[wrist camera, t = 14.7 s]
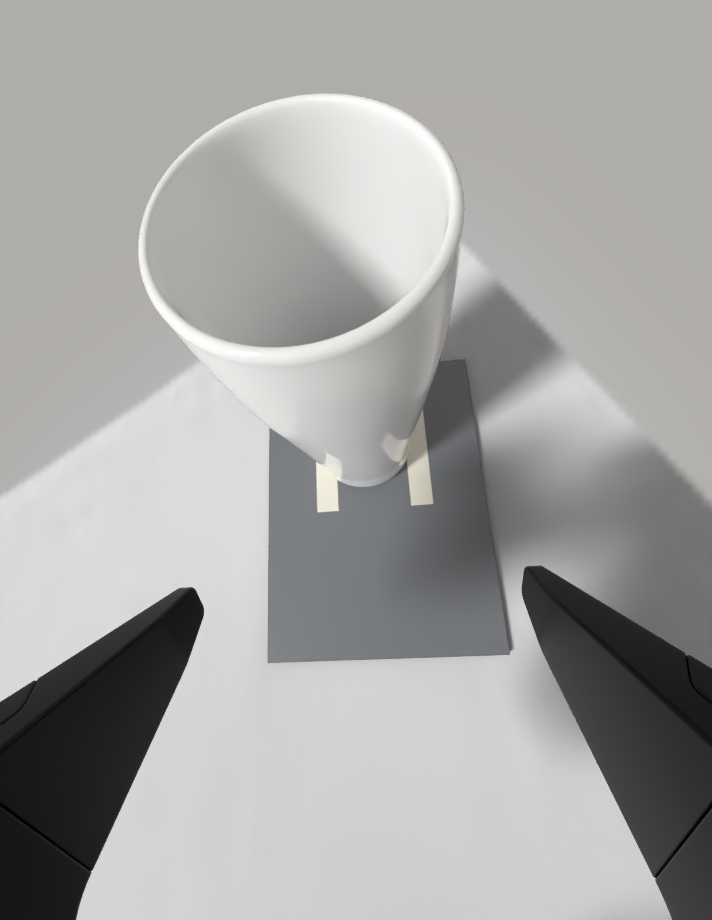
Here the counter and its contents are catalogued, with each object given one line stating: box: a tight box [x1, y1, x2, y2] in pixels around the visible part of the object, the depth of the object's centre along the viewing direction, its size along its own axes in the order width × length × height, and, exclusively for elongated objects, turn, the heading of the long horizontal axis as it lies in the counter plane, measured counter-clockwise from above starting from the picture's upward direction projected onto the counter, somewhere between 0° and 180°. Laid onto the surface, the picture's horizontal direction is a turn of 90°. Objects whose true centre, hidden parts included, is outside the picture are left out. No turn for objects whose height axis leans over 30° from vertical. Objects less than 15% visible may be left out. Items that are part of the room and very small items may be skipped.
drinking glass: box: [138, 93, 464, 487], centre depth 15 cm, size 7×7×15 cm
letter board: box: [268, 359, 510, 663], centre depth 21 cm, size 16×12×1 cm
